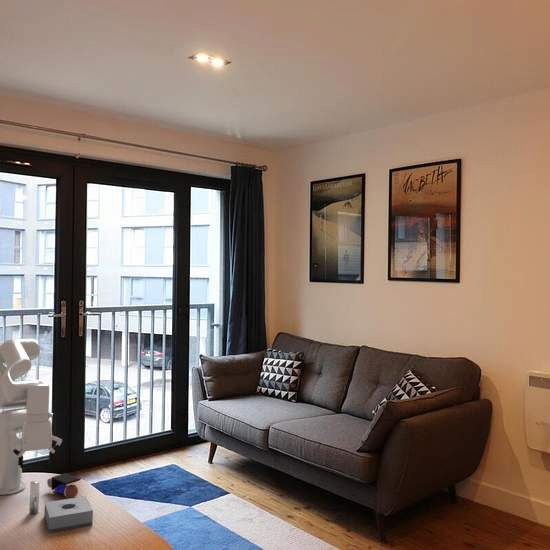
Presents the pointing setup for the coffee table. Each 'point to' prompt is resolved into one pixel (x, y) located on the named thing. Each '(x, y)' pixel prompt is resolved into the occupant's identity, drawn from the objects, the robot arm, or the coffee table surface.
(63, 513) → the bore block
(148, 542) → the coffee table surface
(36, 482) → the aluminium pin
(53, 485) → the figurine character
